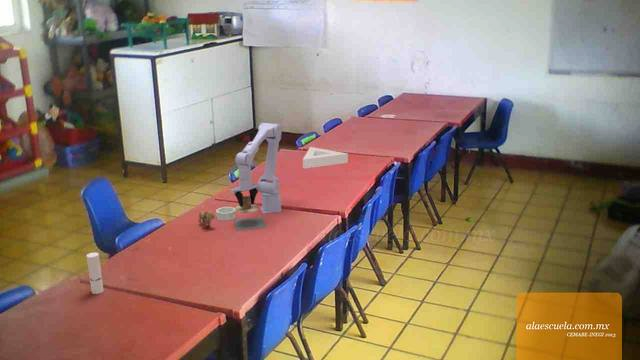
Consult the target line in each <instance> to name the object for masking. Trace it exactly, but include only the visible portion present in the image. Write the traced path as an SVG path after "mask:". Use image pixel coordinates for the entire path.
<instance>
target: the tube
mask: <svg viewBox="0 0 640 360" xmlns="http://www.w3.org/2000/svg"><path fill="white" fill-rule="evenodd" d="M86 263H87V269H88V270H87V271H88V274H89V283H90V289H91V294H94V295H98V294H99V295H100V294H102V293H103V292H104V283H103V278H102V268H101V261H100V254H99V252H90V253H87V254H86Z"/></svg>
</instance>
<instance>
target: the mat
mask: <svg viewBox="0 0 640 360" xmlns="http://www.w3.org/2000/svg"><path fill="white" fill-rule="evenodd" d="M233 223H234V226H235V228H236V231H237V232H238V231H248V230H255V229H256V230H257V229H266V228H268V227H267V225H266V223H265V220H264V218H263V216H258V217H249V218H239V219H233Z"/></svg>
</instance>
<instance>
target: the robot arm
mask: <svg viewBox="0 0 640 360" xmlns="http://www.w3.org/2000/svg"><path fill="white" fill-rule="evenodd" d="M282 132H283V129H282V127H281V125H280V124H279V123H268V122H261V123H260V124H259V126H258V129H257V133H256V135H255V137H254V138H253V140H252V141H248V143H247V144H246V146H245V147H244V148H243V149H242V150H241V152H238V153H236V155H235V158H234V161H235V164H236V167H237V170H238V183H239V184H238V185H239V186H236V187H234V188H231V189H230V194H232V195H234V196H235V198H236V199H237V202H238V204H239V206H240V207H243V197H244V194H243V192H246V191H249V192H248V193H249V196H250V197H251V204H252V205H254V204H255V200H256V197H257V194H258V193H259V194H260V195H261V207H260V211H261V213H262V214H270V213H271V214H272V213H280V212H282V198H281V193H280V192H279V190H280V179H279V178H278V176H276V174H275V173H276V168H277V167H276V166H277V160H278V151H279V143H280V141H281V139H282V134H283V133H282ZM265 140H266V141H267V150H266V157H265V165H264V171H263V172H264V173H263V174H262V175H261V176H259V180H258V182H257V183H252V168H251V167H252V166H251V165H252V164H253V162H254V157H255V155H256V154H257V152H258V151H259V150H260V147H259V146H260V145H261V144H262V143H263V141H265Z"/></svg>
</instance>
